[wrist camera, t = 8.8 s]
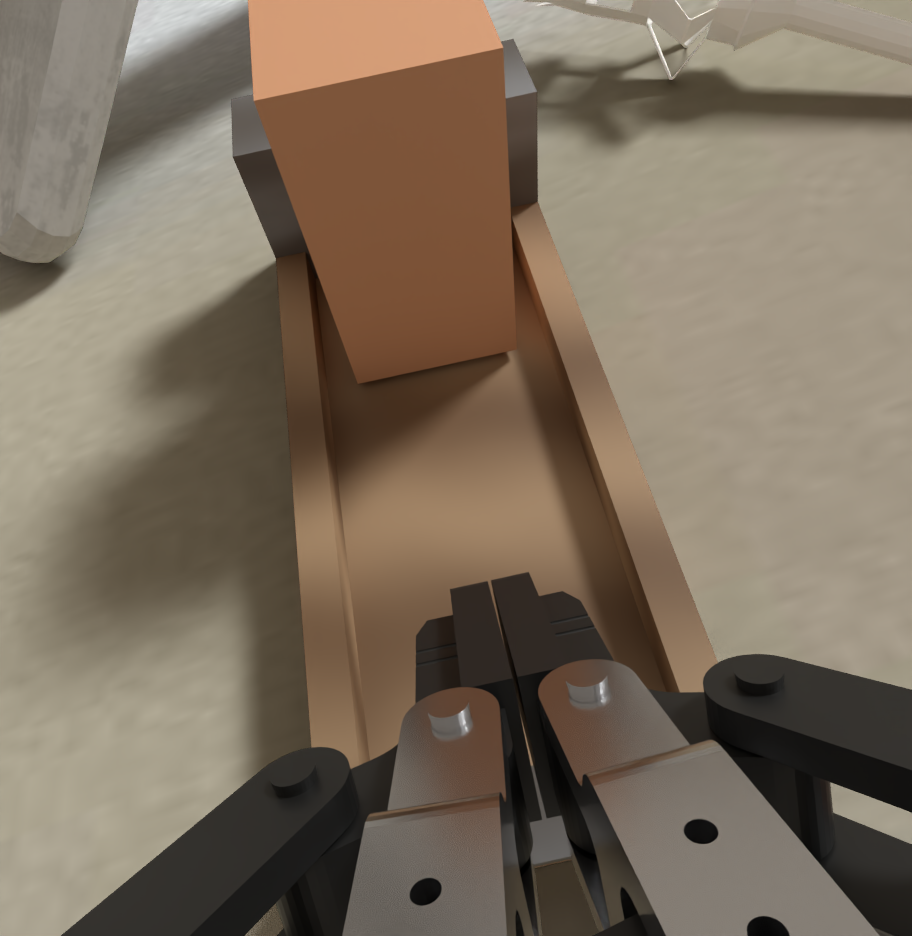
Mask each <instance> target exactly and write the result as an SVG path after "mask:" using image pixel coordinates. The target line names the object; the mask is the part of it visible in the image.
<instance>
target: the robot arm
mask: <svg viewBox="0 0 912 936" xmlns="http://www.w3.org/2000/svg"><path fill="white" fill-rule="evenodd" d="M491 584H492V589H493V594H494V599H495V603H496V608H497V613H498V618H499V622H500V627H501V631H500V627H499V623H498V619H497V615H496V611H495V608H494V604H493V600H492V596H491V592H490V588H489V584H488V581H485V582H480V583H475V584H471V585H466V586H461V587H457V588H452V589H450V594H451V603H452V612H453V615H450V616H445V617H441V618H436V619H431V620H427V621H426V623H425V624H424V625H423V627H422V628H421V630H420V631H419V632H418V634H417V635H416V689H415V705H414V706H412V707H411V708H410V709H409V711H408V712H407V713H406V714H405V716H404V718H403V720H402V724H401V729H400V736H399V742H398V744H397V745H396V746H395V747H393V748H392V749H391V750H389V751H387V752H386V753H384V754H382V755H380V756H378V757H376V758H374V759H372V760H370V761H368V762H365V763H363V764H361V765H359V766H356V767H354V768H352V769H351V768H350V765H349V762H348V759H347V757H346V756H345V755H344V754H343V753H342V752H340V751H338V750H336V749H333V748H328V747H312V748H306V749H302V750H298V751H295V752H292V753H290V754H287V755H285V756H283V757H281V758H279V759H277V760H275V761H273V762H272V763H270V764H269V765H267V766H266V767H265V768H263V769H262V770H261V771H260V772H258V773H257V774H256V775H255V776H253V777H252V778H251V779H250V780H249V781H247V782H246V783H245V784H244V785H243V786H241V787H240V788H239V789H238V790H237V791H235V792H234V793H233V794H232V795H230V796H229V797H228V798H227V799H226V800H224V801H223V802H222V803H221V804H220V805H218V806H217V807H216V808H215V809H214V810H212V811H211V812H210V813H209V814H208V815H206V816H205V817H204V818H203V819H201V820H200V821H199V822H198V823H197V824H195V825H194V826H193V827H192V828H191V829H189V830H188V831H187V832H186V833H185V834H183V835H182V836H181V837H180V838H178V839H177V840H176V841H175V842H174V843H172V844H171V845H170V846H169V847H168V848H166V849H165V850H164V851H163V852H162V853H160V854H159V855H158V856H157V857H155V858H154V859H153V860H152V861H151V862H149V863H148V864H147V865H146V866H145V867H143V868H142V869H141V870H140V871H139V872H137V873H136V874H135V875H134V876H132V877H131V878H130V879H129V880H128V881H126V882H125V883H124V884H123V885H122V886H120V887H119V888H118V889H117V890H116V891H114V892H113V893H112V894H111V895H109V896H108V897H107V898H106V899H105V900H103V901H102V902H101V903H100V904H99V905H97V906H96V907H95V908H94V909H93V910H91V911H90V912H89V913H88V914H86V915H85V916H84V917H83V918H82V919H80V920H79V921H78V922H77V923H76V924H74V925H73V926H72V927H71V928H70V929H68V930H67V931H66V932H65V933H63V934H62V935H61V936H244V935H245V934H246V933H247V932H248V931H249V930H250V929H251V928H252V927H253V926H254V925H255V924H256V923H257V922H258V921H259V920H260V919H261V918H262V917H263V916H264V915H265V914H266V913H267V912H268V911H269V909H270V908H271V907H272V906H273V905H274V904H275V903H276V906H277V909H278V912H279V915H280V918H281V921H282V924H283V927H284V928H283V930H282V931H281V932H280V933H279V934H278V935H277V936H542V927H541V918H540V909H539V901H538V892H537V883H536V874H535V869H534V864H533V860H532V855H531V852H532V848H533V836H532V832H531V827H530V822H534V821H539V820H542V816H541V811H540V807H539V802H538V797H537V792H536V787H535V783H534V778H533V773H532V768H531V763H530V759H529V754H528V749H527V744H526V740H525V735H526V739H527V743H528V747H529V751H530V754H531V758H532V762H533V766H534V770H535V774H536V778H537V782H538V786H539V790H540V794H541V798H542V802H543V806H544V810H545V814H546V818H552V817H556V816H561V815H562V819H563V822H564V826H565V830H566V835H567V840H568V845H569V850H570V855H571V859H572V863H573V866H574V869H575V871H576V874H577V877H578V879H579V882H580V885H581V887H582V890H583V892H584V895H585V898H586V900H587V903H588V906H589V908H590V911H591V913H592V916H593V919H594V921H595V924H596V927H597V929H598V932H599V933H597V934H595V935H593V936H912V844H909V843H907V842H904V841H902V840H899V839H897V838H894V837H892V836H889V835H887V834H884V833H882V832H880V831H877V830H875V829H872V828H870V827H867V826H865V825H862V824H860V823H857V822H855V821H852V820H850V819H847V818H845V817H842V816H840V815H837V814H835V813H833V808H832V798H831V787H830V782H832V783H834V784H837V785H840V786H842V787H845V788H848V789H850V790H853V791H856V792H858V793H861V794H864V795H867V796H869V797H872V798H875V799H877V800H880V801H883V802H885V803H888V804H891V805H893V806H896V807H899V808H902V809H904V810H907V811H909V812H912V690H910V689H906V688H902V687H898V686H894V685H891V684H887V683H883V682H879V681H875V680H871V679H867V678H863V677H859V676H855V675H851V674H847V673H843V672H839V671H835V670H831V669H828V668H824V667H820V666H816V665H812V664H808V663H804V662H800V661H796V660H792V659H788V658H784V657H779V656H774V655H764V654H751V655H742V656H736V657H732V658H728V659H726V660H723V661H721V662H719V663H717V664H715V665H714V666H712V667H711V668H710V669H709V670H708V671H707V672H706V674H705V676H704V678H703V688H704V692H662V691H656V690H651V689H647V688H646V687H645V685H644V684H643V683H642V681H641V680H640V679H639V677H638V676H637V675H636V674H635V672H634V671H633V670H632V669H630V668H629V667H627V666H625V665H623V664H621V663H618V662H615V661H614V660H613V658H612V656H611V654H610V652H609V651H608V649H607V647H606V645H605V643H604V642H603V640H602V638H601V636H600V635H599V633H598V631H597V629H596V628H595V626H594V624H593V622H592V620H591V618H590V617H589V616H588V613H587V611H586V610H585V608H584V606H583V604H582V602H581V601H580V600H579V599H577V598H575V597H573V596H571V595H569V594H567V593H565V592H564V591H560V592H556V593H551V594H546V595H542V596H539V595H538V592H537V590H536V588H535V585H534V583H533V581H532V578H531V576H530V574H529V572H526V573H521V574H516V575H512V576H507V577H503V578H498V579H493V580H491ZM501 632H502V635H501ZM502 637H503V639H502ZM503 642H504V643H503ZM520 715H521V716H520ZM521 719H522V720H521ZM522 723H523V725H522ZM523 727H524V730H523ZM524 731H525V735H524Z"/></svg>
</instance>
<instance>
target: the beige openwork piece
mask: <svg viewBox="0 0 912 936" xmlns="http://www.w3.org/2000/svg"><path fill="white" fill-rule="evenodd" d="M525 2H544V3H541V4H539V5H536V6H553V5H556V6H559V7H563V8H566V9H569V10H573V11H576V12H580V13H583V14H587V15H590V16H596V17H602V18H608V19H614V20H620V21H625V22H631V23H636V24H640V25H645V26H647V28H648V31H649V33H650V35H651V38H652V40H653V42H654V45H655V47H656V50H657V52H658V54H659V57H660V59H661V61H662V64H663V66H664V68H665V71H666V73H667V76H668V78H669V80H673V79H674V78H675V77H676V75H677V74H678V73H679V72H680V70H681V69H682V68H683V67H684V66H685V64H686V63H687V62H688V61H689V59H690V58H691V57H692V56H693V54H694V53H695V52H696V51H697V49H698V48H699V47H700V46H701V44H702V43H703V42H704V41H705V39H708V40H713V41H717V42H721V43H725V44H729V45H733V50H734V51H735V50H737V49H739V48H742V47H744V46H746V45H748V44H750V43H753V42H755V41H757V40H759V39H762V38H764V37H766V36H768V35H770V34H773V33H775V32H777V31H779V30H781V29H787V30H791V31H794V32H798V33H801V34H805V35H808V36H811V37H815V38H818V39H822V40H825V41H829V42H832V43H836V44H839V45H843V46H846V47H850V48H853V49H857V50H860V51H864V52H867V53H871V54H874V55H878V56H881V57H885V58H888V59H892V60H895V61H899V62H902V63H906V64H909V65H912V22H909V21H905V20H902V19H898V18H894V17H891V16H887V15H884V14H880V13H877V12H873V11H869V10H866V9H862V8H859V7H855V6H851V5H848V4H844V3H841V2H837V1H834V0H718V2H717V5H716V7H715V8H713V9H711V10H709V11H707V12H705V13H703V14H701V15H699V16H697V17H695V18H693V19H690V18H689V17H688V16H687V15H686V13H685V12H684V11H683V9H682V8H681V7H680V5H679V4H678V3H677V1H676V0H634V1H633V5H632V9H631V11H629V10H623V9H618V8H613V7H607V6H602V5H597V4H596V2H597V0H525ZM652 22H654V23H656V24H657V25H658V26H659V27H661V28H662V29H663V30H664V31H665V32H667V33H668V34H669V35H670V36H672V37H673V38H674V39H675V40H676V41H678V42H679V43H680V44H681V45H682V46H683V47H685V48H687V47H688V46H689V45H690V44H691V43H692V42H693V41H695V40H696V39H697V38H698V37H699V36H700V35H701V34H702V33H703V32H704V31H705V30H706V29H707V28H708V30H707V33H706V36H705V38H704V39H703V40H702V41H701V43H700V44H699V45H698V46H697V48H696V49H695V50H694V51H693V53H692V54H691V55H690V56H689V58H688V59H687V60H686V61H685V62H684V64H683V65H682V66H681V67H680V69H679V70H678V71H677V72H676V74H675V75H674V76H673V77H672V76H671V74H670V71H669V69H668V66H667V64H666V61H665V59H664V56H663V54H662V51H661V49H660V46H659V44H658V41H657V39H656V36H655V34H654V31H653V29H652V26H651V24H652Z"/></svg>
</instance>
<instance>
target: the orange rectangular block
mask: <svg viewBox="0 0 912 936" xmlns="http://www.w3.org/2000/svg"><path fill="white" fill-rule="evenodd" d="M248 11H249V28H250V45H251V63H252V80H253V97H254V103H255V106H256V108H257V111H258V114H259V117H260V119H261V122H262V125H263V127H264V130H265V133H266V136H267V138H268V141H269V144H270V146H271V149H272V152H273V155H274V157H275V160H276V163H277V166H278V168H279V171H280V174H281V176H282V179H283V182H284V185H285V187H286V190H287V193H288V195H289V198H290V201H291V204H292V206H293V209H294V212H295V214H296V217H297V220H298V223H299V225H300V228H301V231H302V233H303V236H304V239H305V242H306V244H307V247H308V250H309V253H310V255H311V258H312V261H313V263H314V266H315V269H316V272H317V274H318V277H319V280H320V282H321V285H322V288H323V291H324V293H325V296H326V299H327V301H328V304H329V307H330V310H331V312H332V315H333V318H334V321H335V323H336V326H337V329H338V331H339V334H340V337H341V340H342V342H343V345H344V348H345V350H346V353H347V356H348V359H349V361H350V364H351V367H352V369H353V372H354V375H355V378H356V380H357V383H358V384H360V383H365V382H369V381H374V380H378V379H383V378H388V377H392V376H397V375H401V374H406V373H411V372H415V371H420V370H425V369H429V368H434V367H438V366H443V365H448V364H452V363H457V362H461V361H466V360H471V359H475V358H480V357H485V356H489V355H494V354H498V353H503V352H508V351H512V350H517V339H516V317H515V295H514V273H513V251H512V229H511V207H510V185H509V163H508V141H507V119H506V97H505V75H504V53H503V46H502V43H501V41H500V39H499V36H498V34H497V32H496V29H495V27H494V25H493V22H492V20H491V18H490V16H489V13H488V11H487V9H486V6H485V4H484V2H483V0H248Z"/></svg>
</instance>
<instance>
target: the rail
mask: <svg viewBox="0 0 912 936" xmlns="http://www.w3.org/2000/svg"><path fill="white" fill-rule="evenodd" d="M501 43H502V46H503V53H504V75H505V97H506V119H507V141H508V163H509V185H510V207H511V229H512V251H513V273H514V295H515V317H516V339H517V350H512V351H508V352H503V353H498V354H494V355H489V356H485V357H480V358H475V359H471V360H466V361H461V362H457V363H452V364H448V365H443V366H438V367H434V368H429V369H425V370H420V371H415V372H411V373H406V374H401V375H397V376H392V377H388V378H383V379H378V380H374V381H369V382H365V383H360V384H358V383H357V380H356V378H355V375H354V372H353V369H352V367H351V364H350V361H349V359H348V356H347V353H346V350H345V348H344V345H343V342H342V340H341V337H340V334H339V331H338V329H337V326H336V323H335V321H334V318H333V315H332V312H331V310H330V307H329V304H328V301H327V299H326V296H325V293H324V291H323V288H322V285H321V282H320V280H319V277H318V274H317V272H316V269H315V266H314V263H313V261H312V258H311V255H310V253H309V250H308V247H307V244H306V242H305V239H304V236H303V233H302V231H301V228H300V225H299V223H298V220H297V217H296V214H295V212H294V209H293V206H292V204H291V201H290V198H289V195H288V193H287V190H286V187H285V185H284V182H283V179H282V176H281V174H280V171H279V168H278V166H277V163H276V160H275V157H274V155H273V152H272V149H271V146H270V144H269V141H268V138H267V136H266V133H265V130H264V127H263V125H262V122H261V119H260V117H259V114H258V111H257V108H256V106H255V103H254V97H253V95H249V96H244V97H240V98H235V99H231V108H232V144H233V158H234V161H235V163H236V165H237V168H238V170H239V172H240V175H241V177H242V180H243V182H244V184H245V187H246V189H247V191H248V194H249V196H250V198H251V201H252V203H253V205H254V208H255V210H256V212H257V215H258V217H259V220H260V222H261V224H262V227H263V229H264V231H265V234H266V236H267V238H268V241H269V243H270V245H271V248H272V250H273V252H274V255H275V257H276V266H277V280H278V294H279V307H280V321H281V335H282V349H283V363H284V376H285V390H286V404H287V418H288V431H289V445H290V459H291V473H292V487H293V500H294V514H295V528H296V542H297V556H298V569H299V583H300V597H301V611H302V624H303V638H304V652H305V666H306V680H307V693H308V707H309V721H310V735H311V748H312V747H328V748H333V749H336V750H338V751H340V752H342V753H343V754H344V755H345V756H346V757H347V759H348V762H349V765H350V768H351V769H352V768H354V767H356V766H359V765H361V764H363V763H365V762H368V761H370V760H372V759H374V758H376V757H378V756H380V755H382V754H384V753H386V752H387V751H389V750H391V749H392V748H393V747H395V746H396V745H397V744H398V742H399V736H400V729H401V724H402V720H403V718H404V716H405V714H406V713H407V712H408V711H409V709H410V708H411V707H412V706H414V705H415V689H416V635H417V634H418V632H419V631H420V630H421V628H422V627H423V625H424V624H425V623H426V621H427V620H431V619H436V618H441V617H445V616H450V615H453V612H452V603H451V594H450V589H452V588H457V587H461V586H466V585H471V584H475V583H480V582H485V581H488V584H489V588H490V592H491V596H492V600H493V604H494V608H495V611H496V615H497V619H498V623H499V627H500V622H499V618H498V613H497V608H496V603H495V599H494V594H493V589H492V584H491V580H493V579H498V578H503V577H507V576H512V575H516V574H521V573H526V572H529V574H530V576H531V578H532V581H533V583H534V585H535V588H536V590H537V592H538V595H539V596H542V595H546V594H551V593H556V592H560V591H564V592H565V593H567V594H569V595H571V596H573V597H575V598H577V599H579V600H580V601H581V602H582V604H583V606H584V608H585V610H586V611H587V613H588V616H589V617H590V618H591V620H592V622H593V624H594V626H595V628H596V629H597V631H598V633H599V635H600V636H601V638H602V640H603V642H604V643H605V645H606V647H607V649H608V651H609V652H610V654H611V656H612V658H613V660H614V661H615V662H618V663H621V664H623V665H625V666H627V667H629V668H630V669H632V670H633V671H634V672H635V674H636V675H637V676H638V677H639V679H640V680H641V681H642V683H643V684H644V685H645V687H646V688H647V689H651V690H656V691H662V692H704V688H703V678H704V676H705V674H706V672H707V671H708V670H709V669H710V668H711V667H712V666H714V665H715V664H717V663H718V662H717V659H716V657H715V654H714V652H713V649H712V646H711V644H710V641H709V639H708V636H707V634H706V631H705V629H704V626H703V623H702V621H701V618H700V616H699V613H698V611H697V608H696V606H695V603H694V600H693V598H692V595H691V593H690V590H689V588H688V585H687V583H686V580H685V577H684V575H683V572H682V570H681V567H680V565H679V562H678V560H677V557H676V554H675V552H674V549H673V547H672V544H671V542H670V539H669V537H668V534H667V531H666V529H665V526H664V524H663V521H662V519H661V516H660V514H659V511H658V508H657V506H656V503H655V501H654V498H653V496H652V493H651V490H650V488H649V485H648V483H647V480H646V478H645V475H644V473H643V470H642V467H641V465H640V462H639V460H638V457H637V455H636V452H635V450H634V447H633V444H632V442H631V439H630V437H629V434H628V432H627V429H626V427H625V424H624V421H623V419H622V416H621V414H620V411H619V409H618V406H617V404H616V401H615V398H614V396H613V393H612V391H611V388H610V386H609V383H608V381H607V378H606V375H605V373H604V370H603V368H602V365H601V363H600V360H599V358H598V355H597V352H596V350H595V347H594V345H593V342H592V340H591V337H590V335H589V332H588V329H587V327H586V324H585V322H584V319H583V317H582V314H581V312H580V309H579V306H578V304H577V301H576V299H575V296H574V294H573V291H572V289H571V286H570V283H569V281H568V278H567V276H566V273H565V271H564V268H563V266H562V263H561V260H560V258H559V255H558V253H557V250H556V248H555V245H554V242H553V240H552V237H551V235H550V232H549V230H548V227H547V225H546V222H545V219H544V217H543V214H542V212H541V209H540V207H539V204H538V179H537V90H536V88H535V86H534V84H533V82H532V79H531V77H530V75H529V73H528V70H527V68H526V66H525V64H524V62H523V59H522V57H521V55H520V53H519V50H518V48H517V46H516V44H515V42H514V39H511V40H507V41H502V42H501ZM500 631H501V627H500ZM501 635H502V632H501ZM502 639H503V637H502ZM503 643H504V642H503ZM520 716H521V715H520ZM521 720H522V719H521ZM522 725H523V723H522ZM523 730H524V727H523ZM524 735H525V731H524ZM525 740H526V744H527V749H528V754H529V759H530V763H531V768H532V773H533V778H534V783H535V787H536V792H537V797H538V802H539V807H540V811H541V816H542V820H539V821H534V822H530V827H531V832H532V836H533V848H532V852H531V855H532V860H533V864H534V868H537V867H542V866H546V865H551V864H555V863H560V862H564V861H569V860H572V859H571V855H570V850H569V845H568V840H567V835H566V830H565V826H564V822H563V819H562V815H561V816H556V817H552V818H546V814H545V810H544V806H543V802H542V798H541V794H540V790H539V786H538V782H537V778H536V774H535V770H534V766H533V762H532V758H531V754H530V751H529V747H528V743H527V739H526V735H525Z"/></svg>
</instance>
